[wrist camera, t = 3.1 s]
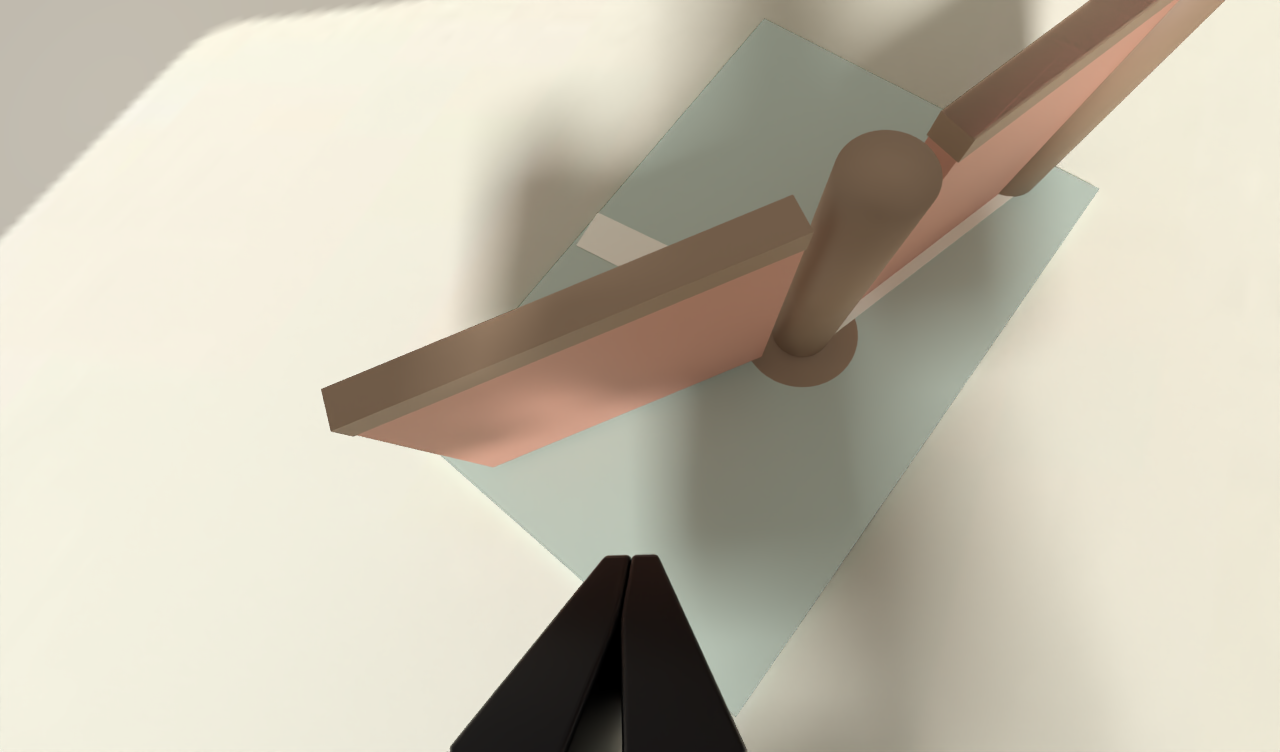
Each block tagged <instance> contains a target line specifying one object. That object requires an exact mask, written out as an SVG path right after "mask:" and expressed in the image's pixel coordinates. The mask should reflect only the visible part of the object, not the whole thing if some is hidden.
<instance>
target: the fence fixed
mask: <svg viewBox="0 0 1280 752" xmlns="http://www.w3.org/2000/svg"><path fill="white" fill-rule="evenodd" d="M1224 1H1225V0H1089V1H1088V2H1087V3H1085V4H1084V5H1083V6H1081V7H1080V8H1079V9H1077V10H1076V11H1075V12H1073V13H1072V14H1071V15H1069V16H1068V17H1067V18H1065V19H1064V20H1063V21H1061V22H1060V23H1059V24H1057V25H1056V26H1055V27H1053V28H1052V29H1051V30H1049V31H1048V32H1046V33H1045V34H1044V35H1042V36H1041V37H1040V38H1038V39H1037V40H1036V41H1034V42H1033V43H1032V44H1030V45H1029V46H1028V47H1026V48H1025V49H1024V50H1022V51H1021V52H1020V53H1018V54H1017V55H1016V56H1014V57H1013V58H1012V59H1010V60H1009V61H1008V62H1006V63H1005V64H1003V65H1002V66H1001V67H999V68H998V69H997V70H995V71H994V72H993V73H991V74H990V75H989V76H987V77H986V78H985V79H983V80H982V81H981V82H979V83H978V84H977V85H975V86H974V87H973V88H971V89H970V90H969V91H967V92H966V93H965V94H963V95H962V96H960V97H959V98H958V99H956V100H955V101H954V102H952V103H951V104H950V105H948V106H947V107H946V108H944V109H943V110H942V111H941V112H940V113H939V115H938V117H937V118H936V120H935V122H934V123H933V125H932V127H931V128H930V130H929V132H928V133H927V136H928V138H927V139H926V141H925V144H927V145H928V146H929V147H930V148H931V149H932V151H933V152H934V153H935V155H936V156H937V158H938V160H939V162H940V165H941V168H942V175H943V180H942V187H941V190H940V193H939V195H938V197H937V198H936V200H935V201H934V203H933V204H932V205H931V207H930V208H929V209H928V211H927V212H926V213H925V215H924V216H923V217H922V219H921V220H920V221H919V223H918V224H917V225H916V227H915V228H914V229H913V231H912V232H911V233H910V235H909V236H908V237H907V239H906V240H905V241H904V243H903V244H902V245H901V247H900V248H899V249H898V251H897V252H896V253H895V254H894V256H893V257H892V258H891V260H890V261H889V262H888V264H887V265H886V266H885V268H884V269H883V270H882V272H881V273H880V274H879V276H878V277H877V278H876V280H875V281H874V282H873V284H872V285H871V286H870V288H869V289H868V290H867V292H866V293H865V294H864V296H863V297H865V296H866V295H867V294H869V293H870V292H871V291H873V290H874V289H875V288H877V287H878V286H879V285H880V284H882V283H883V282H884V281H886V280H887V279H888V278H890V277H891V276H892V275H893V274H895V273H896V272H897V271H899V270H900V269H901V268H903V267H904V266H905V265H907V264H908V263H909V262H910V261H912V260H913V259H914V258H916V257H917V256H918V255H920V254H921V253H922V252H924V251H925V250H926V249H927V248H929V247H930V246H931V245H933V244H934V243H935V242H937V241H938V240H939V239H940V238H942V237H943V236H944V235H946V234H947V233H948V232H950V231H951V230H952V229H954V228H955V227H956V226H957V225H959V224H960V223H961V222H963V221H964V220H965V219H967V218H968V217H969V216H971V215H972V214H973V213H974V212H976V211H977V210H978V209H980V208H981V207H982V206H984V205H985V204H986V203H987V202H989V201H990V200H991V199H993V198H994V197H995V196H997V195H998V194H1000V195H1004V196H1013V197H1017V196H1021V195H1024V194H1026V193H1028V192H1029V191H1030V190H1031V189H1033V188H1034V187H1035V186H1036V185H1037V184H1038V183H1039V182H1040V181H1041V180H1042V179H1043V178H1044V177H1045V176H1046V175H1047V174H1048V173H1049V172H1050V171H1051V170H1052V169H1053V168H1054V167H1055V166H1056V165H1057V164H1058V163H1059V162H1060V161H1061V160H1062V159H1063V158H1064V157H1065V156H1066V155H1067V154H1068V153H1069V152H1070V151H1071V150H1072V149H1073V148H1074V147H1076V146H1077V145H1078V144H1079V143H1080V142H1081V141H1082V140H1083V139H1084V138H1085V137H1086V136H1087V135H1088V134H1089V133H1090V132H1091V131H1092V130H1093V129H1094V128H1095V127H1096V126H1097V125H1098V124H1099V123H1100V122H1101V121H1102V120H1103V119H1104V118H1105V117H1106V116H1107V115H1108V114H1109V113H1110V112H1111V111H1112V110H1113V109H1114V108H1115V107H1116V106H1117V105H1119V104H1120V103H1121V102H1122V101H1123V100H1124V99H1125V98H1126V97H1127V96H1128V95H1129V94H1130V93H1131V92H1132V91H1133V90H1134V89H1135V88H1136V87H1137V86H1138V85H1139V84H1140V83H1141V82H1142V81H1143V80H1144V79H1145V78H1146V77H1147V76H1148V75H1149V74H1150V73H1151V72H1152V71H1153V70H1154V69H1155V68H1156V67H1157V66H1158V65H1159V64H1160V63H1161V62H1163V61H1164V60H1165V59H1166V58H1167V57H1168V56H1169V55H1170V54H1171V53H1172V52H1173V51H1174V50H1175V49H1176V48H1177V47H1178V46H1179V45H1180V44H1181V43H1182V42H1183V41H1184V40H1185V39H1186V38H1187V37H1188V36H1189V35H1190V34H1191V33H1192V32H1193V31H1194V30H1195V29H1196V28H1197V27H1198V26H1199V25H1200V24H1201V23H1202V22H1203V21H1204V20H1206V19H1207V18H1208V17H1209V16H1210V15H1211V14H1212V13H1213V12H1214V11H1215V10H1216V9H1217V8H1218V7H1219V6H1220V5H1221V4H1222V3H1223V2H1224ZM863 297H862V298H863ZM862 298H861V299H862ZM848 331H850V332H848ZM844 334H845V335H844ZM836 339H837V340H836ZM846 341H847V342H846ZM843 342H844V343H843ZM857 342H858V330H857V324H856V321H855V319H853V320H852V321H851V322H849V323H848V324H847V325H846V326H844V327H843V328H842V329H840V330H839V331H838V332H836V333H835V334H834V335H833V337H832V338H831V339H830V341H829V342H828V343H827V345H826V346H825V347H824V348H823V350H821V351H820V352H818V353H817V354H815V355H812V356H813V357H812V356H808V357H797V356H793V355H790V354H788V353H786V352H784V351H783V350H782V349H781V348H780V347H779V346H778V345H777V344H776V342H775V340H774V338H773V335H772V332H771V335H770V337H769V340H768V342H767V345H766V347H765V350H764V352H763V355H762V357H760V358H757V359H755V360H752V362H753V364H754V363H755V364H754V365H755V366H756V367H758V369H759V368H760V369H759V370H760V371H761V372H762V373H763V374H764V375H766V376H767V377H769V378H770V379H772V380H774V381H776V382H778V383H781V384H784V385H788V386H793V387H808V386H809V387H812V386H817V385H820V384H823V383H826V382H828V381H830V380H832V379H834V378H835V377H836V376H838V375H839V374H840V373H841V372H843V371H844V370H845V368H846V367H847V366H848V365H849V363H850V362H851V360H852V358H853V356H854V354H855V351H856V346H857ZM770 346H771V347H770ZM841 347H842V348H841ZM768 348H769V349H768ZM824 350H825V351H824ZM848 350H849V351H848ZM766 351H767V352H766ZM779 351H780V352H779ZM821 352H823V353H821ZM828 352H829V353H828ZM846 352H847V353H846ZM782 353H783V354H782ZM841 353H842V354H841ZM831 354H833V355H831ZM780 355H781V356H780ZM851 355H852V356H851ZM788 356H789V357H788ZM826 356H827V357H826ZM785 357H786V358H785ZM790 357H791V358H790ZM832 357H833V358H832ZM762 358H763V359H762ZM845 358H846V359H845ZM788 359H789V360H788ZM827 359H828V360H827ZM837 359H838V360H837ZM847 359H848V360H847ZM775 360H776V361H775ZM786 360H787V361H786ZM790 360H792V361H790ZM832 360H833V361H832ZM758 361H759V362H758ZM835 361H836V362H835ZM801 362H802V363H801ZM767 363H768V364H767ZM761 364H762V365H761ZM797 364H798V365H797ZM810 366H811V367H810ZM800 367H801V368H800ZM773 368H774V369H773ZM775 369H776V370H775ZM834 369H835V370H834ZM808 371H809V372H808ZM831 371H832V372H831ZM770 372H771V373H770ZM827 372H828V373H827ZM799 375H800V376H799ZM794 381H795V382H794Z"/></svg>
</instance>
